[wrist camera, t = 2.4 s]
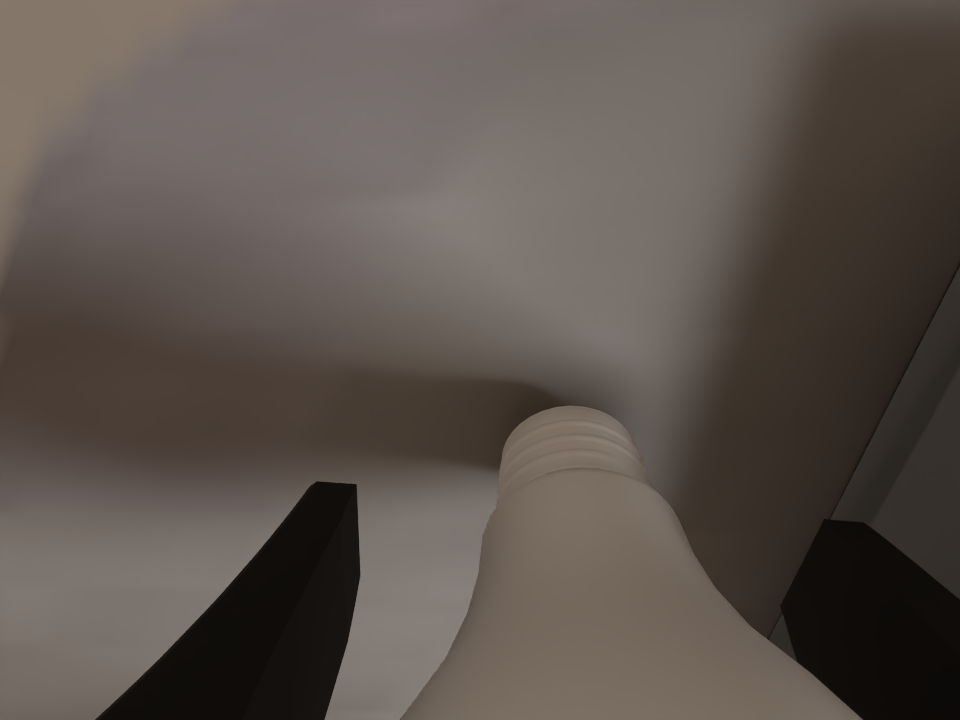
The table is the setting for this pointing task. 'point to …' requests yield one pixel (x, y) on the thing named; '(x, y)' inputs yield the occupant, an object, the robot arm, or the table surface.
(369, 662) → the table surface
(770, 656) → the lightbulb
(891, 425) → the tote
